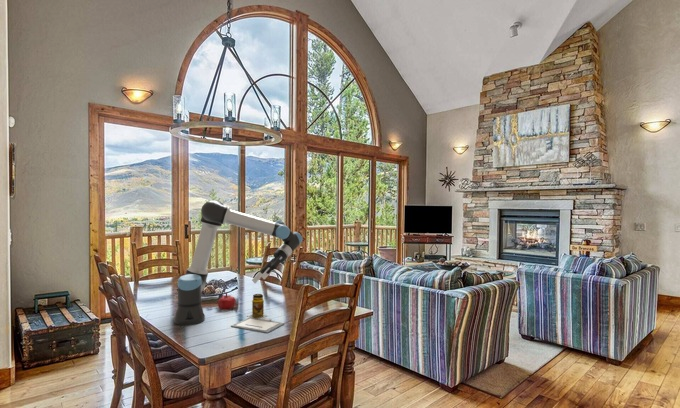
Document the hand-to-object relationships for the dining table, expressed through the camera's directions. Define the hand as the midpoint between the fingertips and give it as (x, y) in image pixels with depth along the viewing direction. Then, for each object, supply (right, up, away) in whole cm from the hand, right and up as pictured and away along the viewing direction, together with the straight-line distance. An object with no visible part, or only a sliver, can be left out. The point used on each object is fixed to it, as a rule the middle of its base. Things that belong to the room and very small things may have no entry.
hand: (257, 279), depth 210 cm
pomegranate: (-22, -21, +19) cm, 36 cm away
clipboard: (+3, -21, -12) cm, 24 cm away
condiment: (-1, -21, +4) cm, 21 cm away
